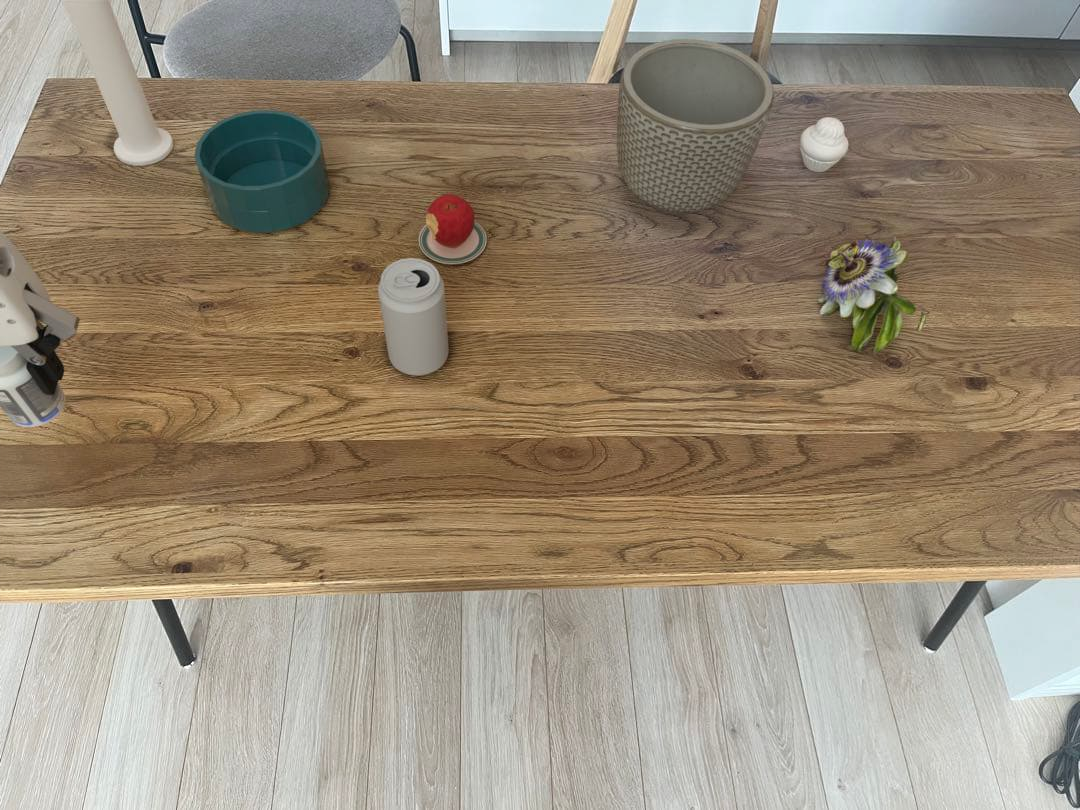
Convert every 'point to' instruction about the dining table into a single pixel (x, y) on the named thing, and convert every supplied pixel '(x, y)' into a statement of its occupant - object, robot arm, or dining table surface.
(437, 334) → the beverage can
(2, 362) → the pill bottle
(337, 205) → the dining table surface
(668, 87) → the planter
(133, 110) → the candle
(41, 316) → the robot arm
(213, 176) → the teal pet bowl
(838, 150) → the muffin
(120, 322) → the dining table surface
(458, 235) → the apple
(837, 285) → the passion flower
